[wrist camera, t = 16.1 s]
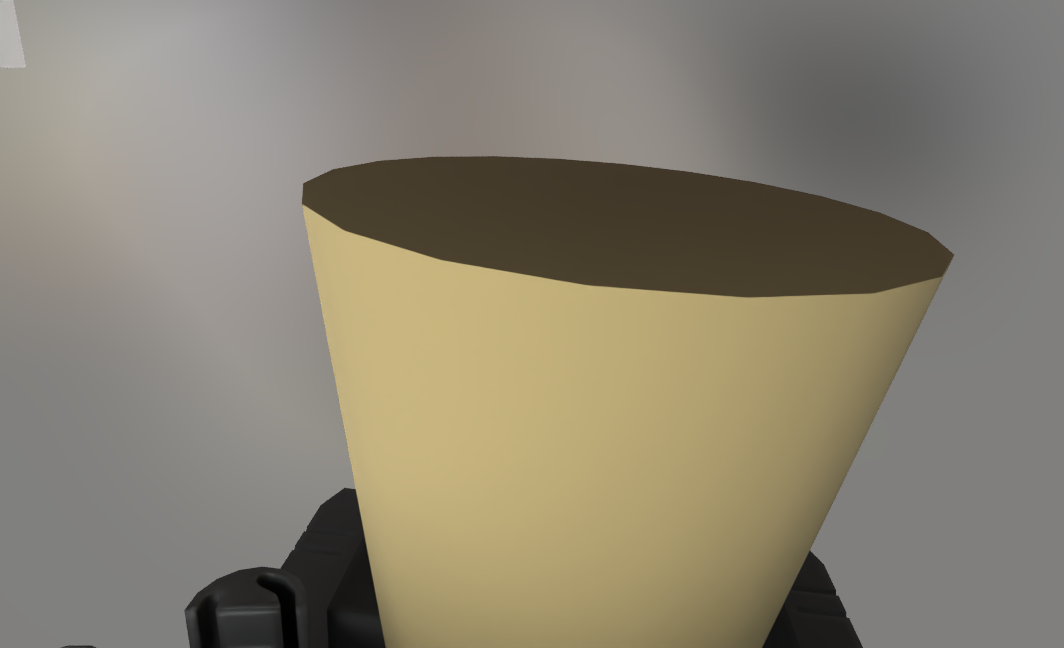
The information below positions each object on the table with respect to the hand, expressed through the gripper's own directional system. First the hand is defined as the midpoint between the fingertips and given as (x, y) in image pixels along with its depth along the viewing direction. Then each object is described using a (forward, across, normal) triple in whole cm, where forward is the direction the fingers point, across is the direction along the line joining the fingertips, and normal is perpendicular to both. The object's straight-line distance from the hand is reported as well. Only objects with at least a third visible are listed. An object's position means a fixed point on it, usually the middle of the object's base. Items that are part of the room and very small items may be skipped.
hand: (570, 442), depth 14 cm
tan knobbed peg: (-5, 0, +6) cm, 8 cm away
